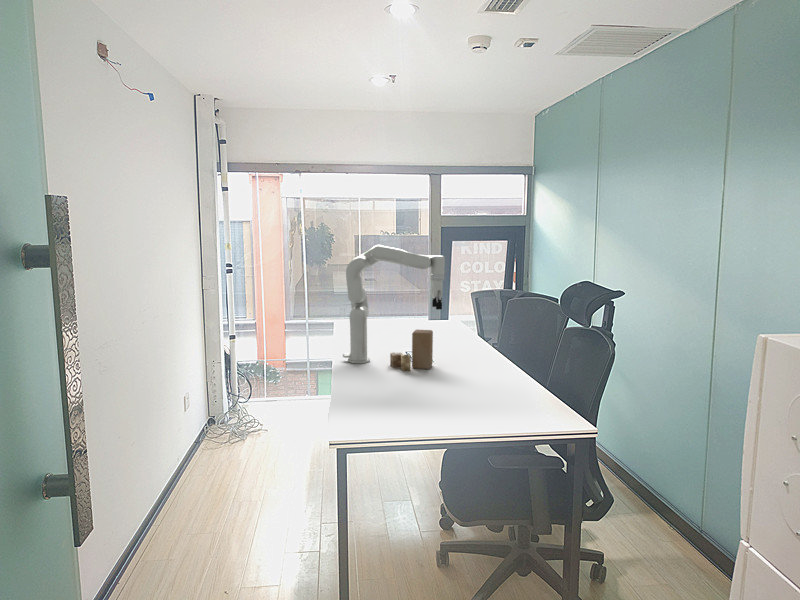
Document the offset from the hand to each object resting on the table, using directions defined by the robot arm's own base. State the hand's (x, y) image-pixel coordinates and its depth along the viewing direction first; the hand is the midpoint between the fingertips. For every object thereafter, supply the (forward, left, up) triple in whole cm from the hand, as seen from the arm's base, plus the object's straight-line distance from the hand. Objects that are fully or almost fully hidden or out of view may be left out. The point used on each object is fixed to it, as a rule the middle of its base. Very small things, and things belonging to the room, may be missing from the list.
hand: (437, 308), depth 315 cm
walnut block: (-22, -10, -31) cm, 40 cm away
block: (-8, -11, -31) cm, 34 cm away
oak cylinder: (-17, -18, -31) cm, 40 cm away
